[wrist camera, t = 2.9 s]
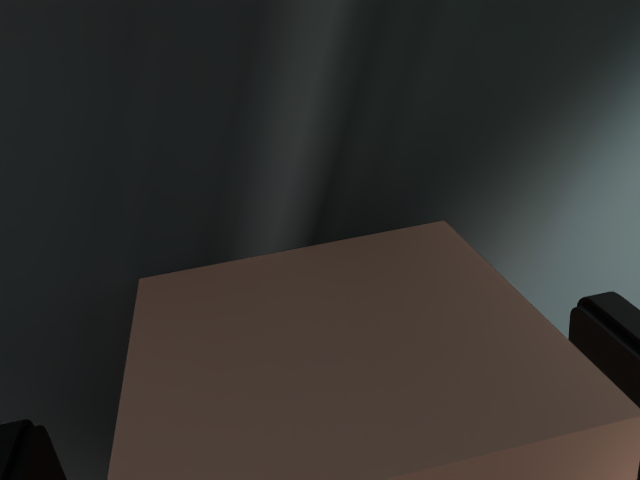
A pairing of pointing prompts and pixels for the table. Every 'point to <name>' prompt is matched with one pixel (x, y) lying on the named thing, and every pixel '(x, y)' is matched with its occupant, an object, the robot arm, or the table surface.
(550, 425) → the cube
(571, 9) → the table surface
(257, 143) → the table surface
